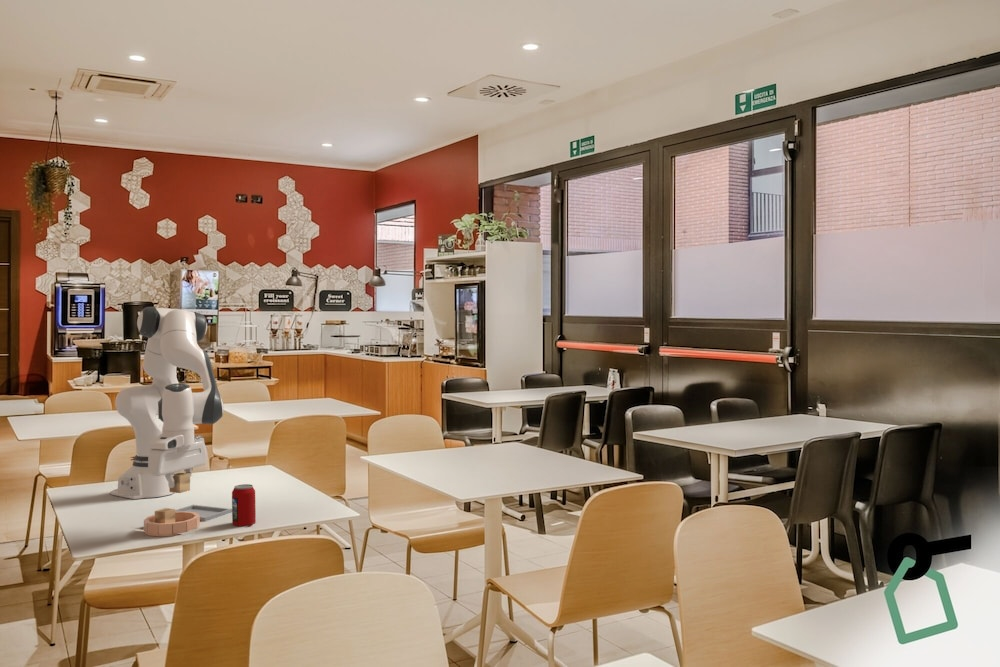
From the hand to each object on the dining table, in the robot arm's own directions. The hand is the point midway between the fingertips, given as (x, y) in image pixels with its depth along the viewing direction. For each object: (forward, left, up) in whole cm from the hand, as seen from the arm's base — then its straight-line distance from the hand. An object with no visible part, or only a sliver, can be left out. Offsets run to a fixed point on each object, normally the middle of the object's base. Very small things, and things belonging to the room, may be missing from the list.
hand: (179, 485), depth 240 cm
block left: (-6, 0, -13) cm, 14 cm away
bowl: (-3, 0, -13) cm, 14 cm away
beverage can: (+14, +11, -14) cm, 23 cm away
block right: (0, 0, -2) cm, 2 cm away
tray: (-7, +15, -13) cm, 22 cm away
